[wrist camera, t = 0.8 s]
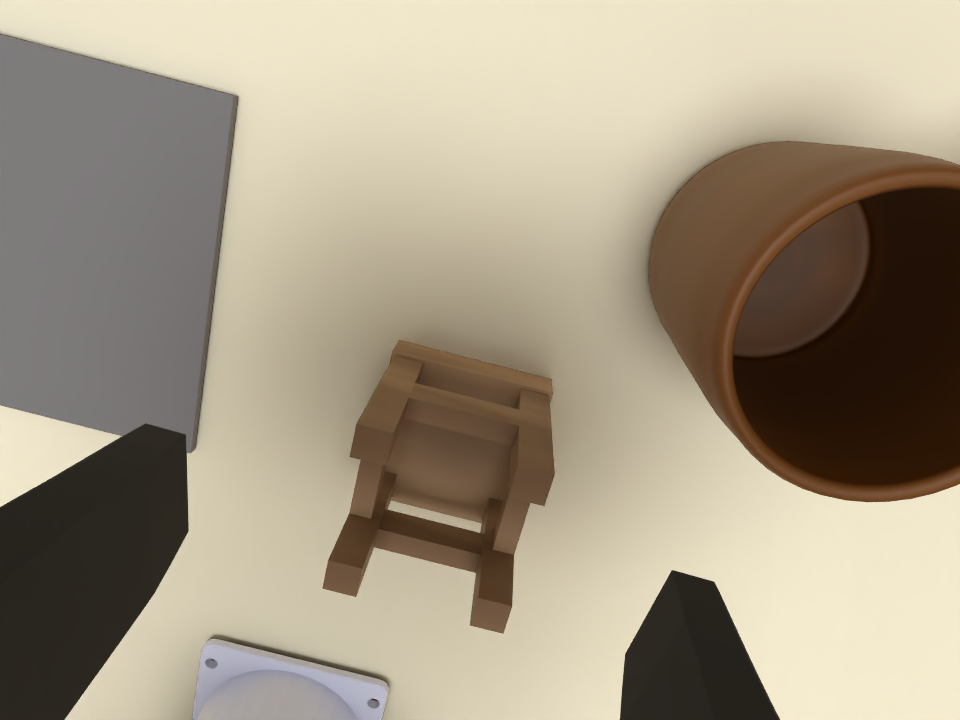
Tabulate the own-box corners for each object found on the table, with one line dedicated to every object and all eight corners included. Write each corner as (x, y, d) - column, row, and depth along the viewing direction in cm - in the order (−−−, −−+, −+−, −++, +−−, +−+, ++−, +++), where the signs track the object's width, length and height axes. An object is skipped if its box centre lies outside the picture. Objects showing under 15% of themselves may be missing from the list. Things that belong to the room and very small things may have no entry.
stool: (511, 510, 27) (505, 637, 21) (369, 474, 27) (318, 590, 21) (551, 378, 25) (559, 471, 19) (399, 339, 25) (353, 419, 19)
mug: (1003, 37, 21) (1352, -18, 12) (1044, 274, 23) (1366, 377, 14) (611, 194, 23) (662, 246, 14) (682, 397, 25) (764, 552, 16)
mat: (195, 448, 27) (190, 453, 27) (-140, 363, 27) (-150, 367, 27) (238, 96, 23) (233, 96, 22) (-162, -9, 23) (-173, -11, 22)
